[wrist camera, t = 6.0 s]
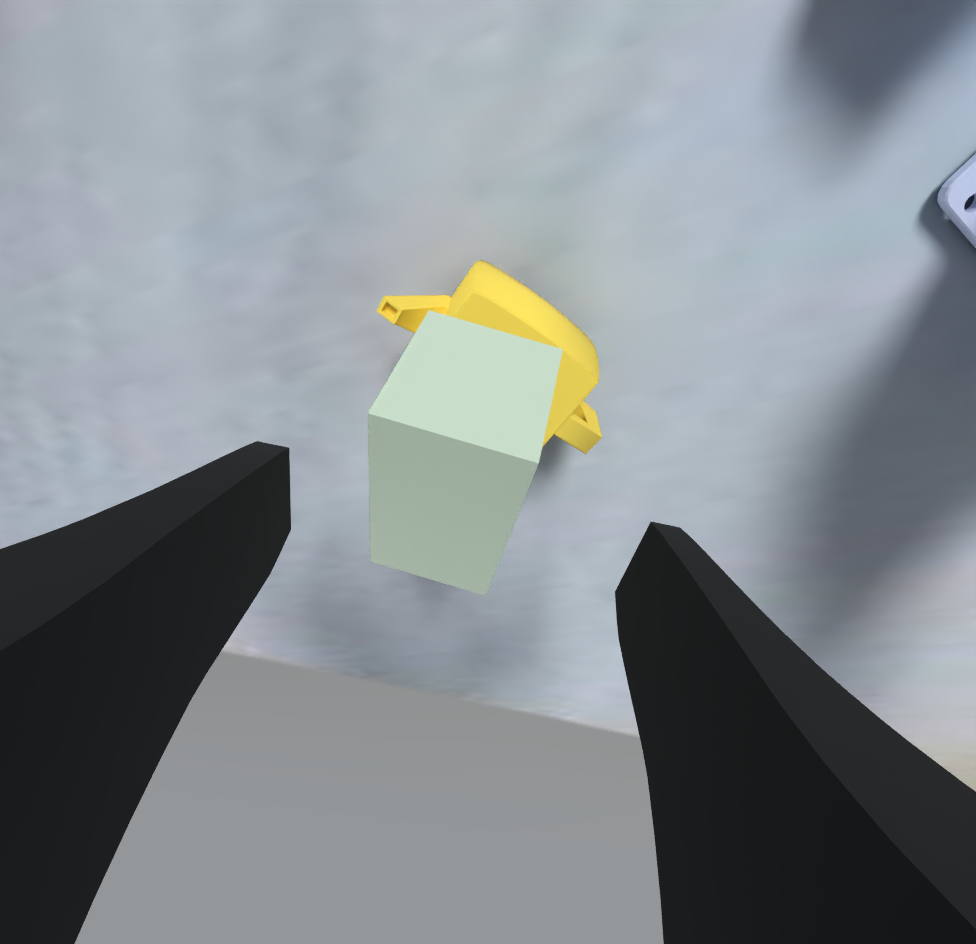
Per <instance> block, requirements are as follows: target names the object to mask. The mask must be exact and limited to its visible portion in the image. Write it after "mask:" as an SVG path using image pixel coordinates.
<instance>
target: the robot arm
mask: <svg viewBox="0 0 976 944" xmlns="http://www.w3.org/2000/svg"><path fill="white" fill-rule="evenodd" d="M973 194H974V197H975V198H974V201H973V203H972V204H971V206H970V207H969V208H967V209H966V210H965V209H964V205H965V202H966V201H967V199H968V198H969V197H970V196H972V195H973ZM938 204H939V206H940V207H941V208H942V210H943V211H944V212H945V213H946V214H947V216H948V217H949V218H950V219H951V220H952V221H953V223H954V224H955V225H956V226H957V227H958V228H959V230H960V231H961V232H962V233H963V234H964V235H965V237H966V238H967V239H968V240H969V241H970V242H971V244H972V245H973V246H974V247H975V248H976V153H975V154H974V155H973V156H972V157H971V158H970V159H969V160H968V161H967V162H966V163H965V164H964V165H963V166H962V167H961V168H959V169H958V170H957V171H956V172H955V173H954V174H953V175H952V176H951V177H950V178H949V179H948V180H947V181H946V182H945V183H944V184H943V186H942V187H941V189H940V191H939V193H938ZM290 530H291V510H290V464H289V448H287V447H282V446H278V445H273V444H268V443H263V442H258V441H257V442H254V443H252V444H249V445H247V446H245V447H242V448H240V449H238V450H236V451H234V452H231V453H229V454H227V455H225V456H223V457H221V458H219V459H217V460H215V461H213V462H211V463H208V464H206V465H204V466H202V467H200V468H198V469H196V470H194V471H192V472H190V473H187V474H185V475H183V476H181V477H179V478H177V479H175V480H173V481H170V482H168V483H166V484H164V485H162V486H160V487H158V488H155V489H153V490H151V491H149V492H146V493H144V494H142V495H139V496H137V497H135V498H132V499H130V500H128V501H125V502H123V503H120V504H118V505H116V506H113V507H111V508H109V509H106V510H104V511H102V512H99V513H97V514H95V515H92V516H90V517H87V518H85V519H83V520H80V521H77V522H75V523H72V524H70V525H67V526H64V527H62V528H59V529H56V530H54V531H51V532H48V533H46V534H43V535H40V536H37V537H34V538H31V539H29V540H26V541H23V542H20V543H17V544H14V545H11V546H8V547H5V548H2V549H0V944H74V943H75V941H76V939H77V937H78V934H79V932H80V930H81V927H82V925H83V922H84V921H85V918H86V916H87V914H88V911H89V909H90V907H91V905H92V902H93V900H94V898H95V896H96V893H97V891H98V889H99V887H100V885H101V883H102V880H103V878H104V876H105V874H106V872H107V870H108V867H109V865H110V863H111V861H112V859H113V857H114V854H115V852H116V850H117V848H118V846H119V844H120V842H121V839H122V837H123V835H124V833H125V831H126V829H127V827H128V824H129V822H130V820H131V818H132V816H133V814H134V812H135V810H136V808H137V806H138V804H139V802H140V800H141V798H142V795H143V794H144V791H145V789H146V787H147V785H148V783H149V781H150V779H151V777H152V775H153V773H154V771H155V769H156V767H157V765H158V763H159V761H160V759H161V757H162V755H163V753H164V751H165V749H166V747H167V745H168V743H169V741H170V739H171V737H172V735H173V733H174V731H175V729H176V728H177V726H178V724H179V722H180V720H181V718H182V716H183V714H184V712H185V710H186V708H187V706H188V704H189V702H190V700H191V699H192V697H193V695H194V694H195V692H196V690H197V689H198V687H199V685H200V683H201V682H202V680H203V678H204V677H205V675H206V673H207V672H208V670H209V668H210V667H211V666H212V664H213V663H214V661H215V659H216V658H217V656H218V655H219V653H220V652H221V650H222V649H223V647H224V645H225V644H226V642H227V641H228V639H229V638H230V636H231V635H232V633H233V631H234V630H235V628H236V627H237V625H238V624H239V622H240V621H241V619H242V617H243V616H244V614H245V613H246V611H247V610H248V608H249V607H250V605H251V603H252V602H253V600H254V599H255V597H256V596H257V594H258V592H259V591H260V589H261V588H262V586H263V584H264V583H265V581H266V580H267V578H268V576H269V575H270V573H271V571H272V569H273V567H274V565H275V563H276V561H277V559H278V557H279V554H280V552H281V550H282V548H283V546H284V543H285V541H286V539H287V537H288V535H289V532H290ZM615 598H616V614H617V626H618V636H619V642H620V647H621V652H622V657H623V662H624V667H625V671H626V676H627V681H628V685H629V690H630V694H631V699H632V703H633V708H634V712H635V717H636V722H637V726H638V731H639V735H640V740H641V744H642V749H643V754H644V760H645V765H646V771H647V776H648V785H649V792H650V801H651V809H652V818H653V825H654V835H655V845H656V855H657V866H658V876H659V887H660V896H661V909H662V924H663V939H664V944H976V792H975V791H974V790H973V789H971V788H970V787H968V786H967V785H966V784H964V783H963V782H962V781H960V780H959V779H957V778H956V777H955V776H954V775H952V774H951V773H950V772H948V771H947V770H946V769H944V768H943V767H942V766H940V765H939V764H938V763H936V762H935V761H934V760H932V759H931V758H930V757H928V756H927V755H926V754H925V753H923V752H922V751H921V750H919V749H918V748H917V747H915V746H914V745H913V744H911V743H910V742H909V741H907V740H906V739H905V738H904V737H902V736H901V735H900V734H899V733H897V732H896V731H895V730H894V729H892V728H891V727H890V726H889V725H887V724H886V723H885V722H884V721H882V720H881V719H880V718H879V717H877V716H876V715H875V714H874V713H873V712H872V711H870V710H869V709H868V708H867V707H866V706H864V705H863V704H862V703H861V702H860V701H859V700H857V699H856V698H855V697H854V696H853V695H851V694H850V693H849V692H848V691H847V690H846V689H844V688H843V687H842V686H841V685H840V684H838V683H837V682H836V681H835V680H834V679H833V678H832V677H831V676H829V675H828V674H827V673H826V672H825V671H824V670H823V669H822V668H820V667H819V666H818V665H817V664H816V663H815V662H814V661H813V660H812V659H811V658H810V657H809V656H808V655H807V654H805V653H804V652H803V651H802V650H801V649H800V648H799V647H798V646H797V645H796V644H795V643H794V642H793V641H792V640H791V639H790V638H789V637H788V636H786V635H785V634H784V633H783V632H782V631H781V630H780V629H779V628H778V627H777V626H776V625H775V624H774V623H773V622H772V621H771V620H770V619H769V618H768V617H767V616H766V615H765V614H764V613H763V612H762V611H761V610H760V609H759V608H758V607H757V606H756V605H755V604H754V603H753V602H752V601H751V599H750V598H749V597H748V596H747V595H746V594H745V593H744V592H743V591H742V590H741V589H740V588H739V587H738V586H737V585H736V584H735V583H734V582H733V581H732V580H731V579H730V578H729V577H728V575H727V574H726V573H725V572H724V571H723V570H722V569H721V568H720V567H719V566H718V565H717V564H716V563H715V562H714V561H713V560H712V559H711V558H710V556H709V555H708V554H707V553H706V552H705V551H704V550H703V549H702V548H701V547H700V546H699V545H698V544H697V543H696V542H695V541H694V540H693V539H692V538H691V537H690V536H689V535H688V534H687V533H685V532H684V531H683V530H682V529H681V528H679V527H674V526H670V525H665V524H660V523H655V522H650V524H649V526H648V528H647V530H646V532H645V534H644V536H643V538H642V540H641V542H640V544H639V546H638V548H637V550H636V552H635V554H634V556H633V558H632V560H631V562H630V564H629V566H628V568H627V569H626V571H625V573H624V575H623V577H622V579H621V581H620V583H619V585H618V587H617V589H616V591H615Z"/></svg>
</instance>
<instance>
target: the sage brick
mask: <svg viewBox="0 0 976 944" xmlns="http://www.w3.org/2000/svg"><path fill="white" fill-rule="evenodd" d="M562 352H563V349H561V348H557V347H554V346H550V345H547V344H544V343H540V342H537V341H533V340H530V339H526V338H523V337H520V336H516V335H513V334H509V333H506V332H502V331H499V330H495V329H492V328H489V327H485V326H482V325H478V324H475V323H471V322H468V321H465V320H461V319H458V318H454V317H451V316H447V315H444V314H441V313H437V312H434V311H430V310H429V311H428V313H427V314H426V316H425V318H424V319H423V321H422V323H421V324H420V326H419V328H418V329H417V331H416V333H415V335H414V336H413V338H412V340H411V341H410V343H409V345H408V346H407V348H406V350H405V351H404V353H403V355H402V356H401V358H400V360H399V362H398V363H397V365H396V367H395V368H394V370H393V372H392V373H391V375H390V377H389V378H388V380H387V382H386V383H385V385H384V387H383V389H382V390H381V392H380V394H379V395H378V397H377V399H376V400H375V402H374V404H373V405H372V407H371V409H370V410H369V412H368V451H369V510H370V562H373V563H377V564H380V565H383V566H387V567H390V568H393V569H397V570H400V571H403V572H407V573H410V574H414V575H417V576H420V577H424V578H427V579H430V580H434V581H437V582H440V583H444V584H447V585H451V586H454V587H457V588H461V589H464V590H467V591H471V592H474V593H477V594H481V595H484V596H486V594H487V592H488V589H489V587H490V584H491V582H492V579H493V577H494V574H495V572H496V569H497V567H498V564H499V562H500V559H501V557H502V554H503V552H504V549H505V547H506V544H507V542H508V539H509V537H510V534H511V532H512V529H513V527H514V524H515V522H516V519H517V517H518V514H519V512H520V509H521V507H522V504H523V502H524V499H525V497H526V494H527V492H528V489H529V487H530V484H531V482H532V479H533V477H534V474H535V472H536V469H537V467H538V464H539V460H540V455H541V451H542V446H543V441H544V436H545V432H546V427H547V422H548V418H549V413H550V408H551V404H552V399H553V394H554V390H555V385H556V380H557V375H558V371H559V366H560V361H561V357H562Z"/></svg>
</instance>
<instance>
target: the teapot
mask: <svg viewBox="0 0 976 944" xmlns="http://www.w3.org/2000/svg"><path fill="white" fill-rule="evenodd" d="M429 310H430V311H434V312H437V313H441V314H444V315H447V316H451V317H454V318H458V319H461V320H465V321H468V322H471V323H475V324H478V325H482V326H485V327H489V328H492V329H495V330H499V331H502V332H506V333H509V334H513V335H516V336H520V337H523V338H526V339H530V340H533V341H537V342H540V343H544V344H547V345H550V346H554V347H557V348H561V349H563V352H562V357H561V361H560V366H559V371H558V375H557V380H556V385H555V390H554V394H553V399H552V404H551V408H550V413H549V418H548V422H547V427H546V432H545V436H544V441H543V446H544V445H545V444H546V443H547V441H548V440H549V439H550V438H551V437H552V436H553V435H556V436H557V437H559V438H560V439H562V440H564V441H565V442H567V443H569V444H570V445H572V446H573V447H575V448H577V449H578V450H580V451H582V452H583V453H585V454H586V453H587V452H588V451H589V450H590V449H591V448H592V447H593V446H594V445H595V444H596V443H597V442H598V441H599V440H600V439H601V438H602V435H601V431H600V426H599V422H598V418H597V414H596V412H595V411H594V410H593V409H592V408H591V407H590V406H589V405H588V404H587V403H585V402H584V401H583V400H584V399H585V398H586V397H587V396H588V394H589V393H590V392H591V391H592V389H593V388H594V387H595V386H596V384H597V383H598V381H599V365H598V357H597V353H596V349H595V347H594V344H593V343H592V341H591V340H590V339H589V338H588V337H587V335H585V334H584V333H583V332H582V331H581V330H580V329H579V328H578V327H577V326H576V325H574V324H573V323H572V322H571V321H570V320H569V319H567V318H566V317H565V316H564V315H563V314H562V313H560V312H559V311H558V310H557V309H555V308H554V307H553V306H552V305H551V304H549V303H548V302H547V301H545V300H544V299H543V298H541V297H540V296H539V295H537V294H536V293H535V292H533V291H532V290H530V289H529V288H527V287H526V286H524V285H523V284H521V283H520V282H518V281H517V280H515V279H514V278H512V277H511V276H509V275H508V274H506V273H505V272H503V271H502V270H500V269H498V268H497V267H495V266H493V265H492V264H490V263H488V262H485V261H481V260H480V261H477V262H476V263H475V264H474V265H473V266H472V267H471V269H470V270H469V272H468V273H467V275H466V276H465V278H464V279H463V281H462V282H461V284H460V285H459V287H458V288H457V290H456V291H455V293H454V294H453V296H452V297H450V296H448V295H423V296H384V297H383V299H382V301H381V303H380V305H379V307H378V309H377V312H378V313H379V314H381V315H382V316H383V317H385V318H386V319H387V320H389V321H390V322H391V323H392V324H394V325H395V324H396V325H398V326H401V327H403V328H405V329H407V330H409V331H412V332H414V333H416V331H417V329H418V328H419V326H420V324H421V323H422V321H423V319H424V318H425V316H426V314H427V313H428V311H429ZM543 446H542V447H543Z"/></svg>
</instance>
